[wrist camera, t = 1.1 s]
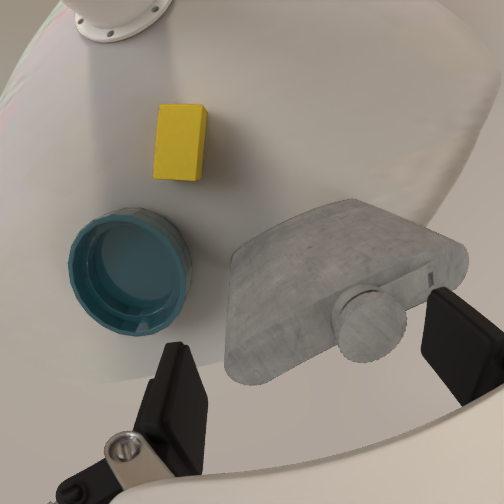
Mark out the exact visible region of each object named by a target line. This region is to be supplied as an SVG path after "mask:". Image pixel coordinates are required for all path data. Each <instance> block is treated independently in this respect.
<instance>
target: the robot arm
mask: <svg viewBox="0 0 504 504" xmlns="http://www.w3.org/2000/svg"><path fill="white" fill-rule="evenodd" d="M60 1H62V2H63V3H64V4H66V5H67V6H68V7H69V8H71V9H72V10H73V11H75V24H76V27H77V29H78V30H79V32H80V33H81V34H82V35H83V36H85V37H86V38H88V39H89V40H92V41H95V42H103V43H107V42H116V41H119V40H123V39H126V38H129V37H131V36H134V35H135V34H137V33H139V32H141V31H143V30H144V29H146V28H147V27H149V26H150V25H152V24H153V23H154V22H155V21H156V20H157V19H158V18H160V17H161V15H162V14H163V13H164V12H165V11H166V10H167V8H168V6H169V5H170V3H171V2H172V0H60ZM156 11H157V12H156ZM421 353H422V355H423V357H424V358H425V360H427V362H428V363H429V364H430V366H431V367H432V368H433V369H434V371H435V372H436V373H437V375H438V376H439V377H440V378H441V380H442V381H443V382H444V383H445V385H446V386H447V387H448V389H449V390H450V391H451V393H452V394H453V395H454V397H455V398H456V399H457V401H458V402H459V403H460V404H461V406H462V407H461V408H459V409H457V410H455V411H453V412H451V413H449V414H447V415H445V416H443V417H440V418H438V419H436V420H434V421H432V422H430V423H427V424H425V425H423V426H420V427H418V428H416V429H413V430H410V431H408V432H405V433H403V434H400V435H398V436H395V437H392V438H390V439H386V440H384V441H381V442H378V443H375V444H372V445H368V446H365V447H362V448H359V449H355V450H352V451H348V452H344V453H341V454H337V455H333V456H329V457H325V458H321V459H317V460H312V461H308V462H302V463H297V464H291V465H286V466H280V467H273V468H267V469H260V470H252V471H244V472H234V473H221V474H208V475H201V474H202V471H203V459H204V446H205V434H206V423H207V412H208V398H207V394H206V392H205V389H204V387H203V384H202V381H201V379H200V376H199V373H198V371H197V368H196V365H195V362H194V360H193V357H192V354H191V351H190V348H189V346H188V345H184V344H183V343H182V342H172V343H166V345H165V348H164V351H163V354H162V357H161V360H160V363H159V366H158V369H157V372H156V375H155V378H154V379H150V380H149V382H148V385H147V388H146V391H145V394H144V397H143V400H142V403H141V406H140V409H139V412H138V415H137V418H136V422H135V424H134V428H133V431H123V432H120V433H117V434H115V435H114V436H112V437H111V438H110V439H109V440H108V441H107V443H106V445H105V447H104V455H105V458H104V459H102V460H101V461H99V462H97V463H95V464H94V465H92V466H90V467H88V468H87V469H85V470H83V471H81V472H79V473H77V474H76V475H74V476H72V477H70V478H68V479H66V480H65V481H63V482H62V483H61V484H60V485H59V486H58V488H57V491H56V502H55V503H54V504H504V332H503V331H501V330H500V329H499V328H498V327H497V326H495V325H494V324H493V323H492V322H491V321H489V320H488V319H487V318H485V317H484V316H483V315H482V314H481V313H479V312H478V311H477V310H475V309H474V308H473V307H472V306H470V305H469V304H468V303H467V302H465V301H464V300H463V299H461V298H460V297H459V296H457V295H456V294H455V293H453V292H452V291H451V290H449V289H448V288H447V287H445V286H443V287H440V288H436V289H433V290H432V291H431V293H430V294H429V295H428V299H427V308H426V317H425V325H424V332H423V338H422V344H421ZM48 504H53V503H52V502H49V503H48Z"/></svg>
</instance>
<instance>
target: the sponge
mask: <svg viewBox="0 0 504 504" xmlns="http://www.w3.org/2000/svg"><path fill="white" fill-rule="evenodd" d="M207 113H208V112H207V110H206V109H205V107H204V106H203V105H199V104H160V107H159V115H158V124H157V134H156V145H155V158H154V172H153V179H166V180H185V181H196V180H199V179H201V176H202V164H203V153H204V142H205V132H206V122H207Z"/></svg>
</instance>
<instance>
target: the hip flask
mask: <svg viewBox="0 0 504 504" xmlns="http://www.w3.org/2000/svg"><path fill="white" fill-rule="evenodd" d="M468 265H469V256H468V252H467V249H466V248H465V247H464V246H463V245H462V244H460V243H458V242H456V241H454V240H452V239H450V238H448V237H446V236H443V235H441V234H439V233H437V232H435V231H432V230H430V229H428V228H425V227H423V226H421V225H419V224H416V223H414V222H412V221H409V220H407V219H404V218H402V217H400V216H397V215H395V214H392V213H390V212H387V211H385V210H382V209H380V208H377V207H375V206H372V205H369V204H367V203H364V202H362V201H359V200H356V199H348V200H343V201H339V202H335V203H331V204H328V205H325V206H321V207H318V208H316V209H313V210H310V211H307V212H305V213H302V214H300V215H298V216H296V217H293V218H291V219H289V220H287V221H285V222H283V223H281V224H279V225H277V226H275V227H273V228H271V229H269V230H267V231H266V232H264V233H262V234H260V235H259V236H257V237H256V238H254V239H252V240H251V241H249V242H248V243H246V244H245V245H244V246H242V247H241V248H239V249H238V250H237V251H236V252H235V253H234V254H233V256H232V259H231V269H230V283H229V297H228V311H227V326H226V341H225V357H224V368H225V371H226V373H227V375H228V376H229V377H230V378H231V379H232V380H234V381H235V382H238V383H240V384H243V385H250V386H252V385H261V384H264V383H267V382H268V381H271V380H272V379H274V378H276V377H278V376H279V375H281V374H283V373H284V372H286V371H288V370H290V369H292V368H294V367H295V366H297V365H299V364H301V363H303V362H305V361H307V360H309V359H310V358H312V357H314V356H316V355H318V354H320V353H322V352H324V351H326V350H328V349H330V348H331V347H333V346H335V345H337V344H338V347H339V348H340V350H341V353H342V354H343V355H344V357H346V358H347V359H348V360H351V361H353V362H357V363H367V362H373V361H375V360H378V359H380V358H382V357H384V356H386V355H387V354H388V353H390V352H391V351H392V350H393V349H394V348H395V347H396V346H397V344H398V343H399V342H400V340H401V339H402V337H403V335H404V332H405V331H406V325H407V317H406V312H405V311H407V310H409V309H411V308H413V307H415V306H418V305H420V304H422V303H424V302H427V299H428V295H429V294H430V293H431V291H432V290H433V289H436V288H440V287H443V286H445V287H447V288H448V289H449V290H451V291H453V290H454V289H456V288H457V287H458V286H459V285H460V284H461V282H462V281H463V279H464V278H465V276H466V273H467V269H468Z"/></svg>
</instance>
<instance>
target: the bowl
mask: <svg viewBox="0 0 504 504" xmlns="http://www.w3.org/2000/svg"><path fill="white" fill-rule="evenodd" d="M68 269H69V277H70V283H71V286H72V288H73V291H74V293H75V296H76V298H77V300H78V301H79V303H80V304H81V306H82V307H83V308H84V310H85V311H86V312H87V314H89V316H90V317H92V318H93V319H94V320H95V321H97V322H98V323H99V324H100V325H102V326H103V327H105V328H107V329H109V330H112V331H114V332H116V333H118V334H123V335H129V336H135V337H136V336H137V337H138V336H145V335H152V334H155V333H156V332H158V331H160V330H162V329H164V328H166V327H168V326H169V325H170V324H171V323H172V321H173V320H174V319H175V318H176V317H177V316H178V315H179V313H180V311H181V308H182V306H183V303H184V300H185V298H186V295H187V292H188V289H189V287H190V284H191V277H192V262H191V259H190V255H189V252H188V248H187V245H186V244H185V242H184V241H183V239H182V238H181V236H180V234H179V233H178V231H177V230H176V228H175V227H173V226H172V225H171V224H170V223H169V222H167V221H166V220H165V219H164V218H163V217H161V216H160V215H157V214H155V213H152V212H150V211H147V210H145V209H140V208H122V209H119V210H116V211H113V212H109V213H107V214H105V215H103V216H101V217H98V218H96V219H94V220H93V221H91V222H90V223H89V224H88V225H86V226H85V227H84V228H83V229H82V230H81V231H80V232H79V233H78V235H77V237H76V239H75V240H74V242H73V244H72V246H71V250H70V255H69V261H68Z"/></svg>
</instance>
